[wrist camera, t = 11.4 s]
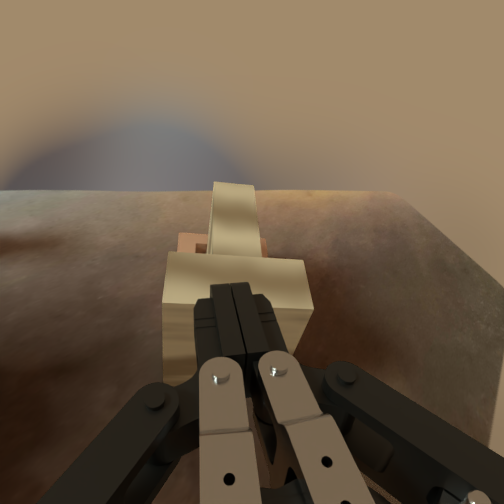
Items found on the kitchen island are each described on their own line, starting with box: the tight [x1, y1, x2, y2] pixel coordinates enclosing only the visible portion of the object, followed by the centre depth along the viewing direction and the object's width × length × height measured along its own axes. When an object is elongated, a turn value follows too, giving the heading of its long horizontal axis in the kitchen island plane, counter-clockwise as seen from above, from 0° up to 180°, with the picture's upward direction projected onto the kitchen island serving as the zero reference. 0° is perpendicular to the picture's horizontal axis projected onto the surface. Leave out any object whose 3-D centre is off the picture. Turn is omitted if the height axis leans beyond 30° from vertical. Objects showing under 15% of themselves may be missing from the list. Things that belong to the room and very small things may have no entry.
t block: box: [162, 182, 314, 386], centre depth 37 cm, size 15×11×13 cm
